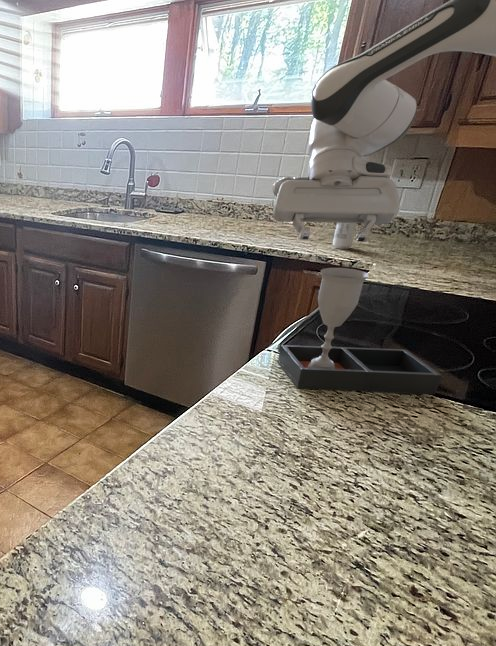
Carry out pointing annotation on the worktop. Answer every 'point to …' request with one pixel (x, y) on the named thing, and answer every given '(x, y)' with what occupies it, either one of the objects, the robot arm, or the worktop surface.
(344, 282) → the chalice
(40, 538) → the worktop surface
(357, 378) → the tray
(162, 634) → the worktop surface
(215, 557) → the worktop surface
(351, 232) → the energy drink can
